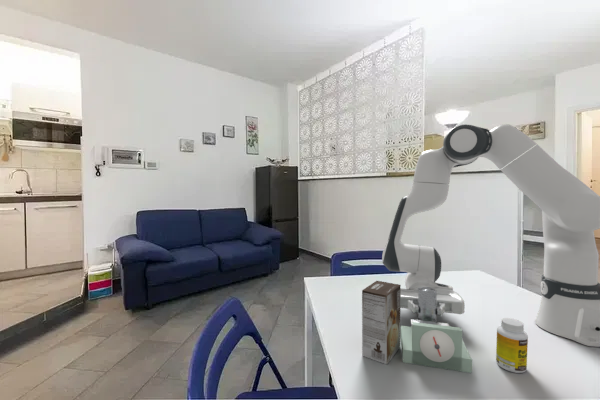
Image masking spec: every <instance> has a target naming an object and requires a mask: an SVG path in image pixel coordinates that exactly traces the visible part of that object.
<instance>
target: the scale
mask: <svg viewBox="0 0 600 400" xmlns="http://www.w3.org/2000/svg"><path fill="white" fill-rule="evenodd" d="M400 348H401V355H402V363H405V364H412V365H416V366H417V365H418V366H424V367H430V368H431V367H432V368H437V369H444V370H449V371H456V372H463V373H470V374H472V373H473V359H472V356H471V355H470V352H469V350H468V348H467V346H466V344H465V342H464V340H463V329H462V327H457V326H451V325H449V326H442V325H434V324H425V323H417V322H412V327H411V326H407V325H400Z"/></svg>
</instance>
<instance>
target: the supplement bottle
mask: <svg viewBox="0 0 600 400" xmlns="http://www.w3.org/2000/svg"><path fill="white" fill-rule="evenodd" d="M500 323H501V324H500V325H498V326H497V328H496V350H495V351H496V352H495V353H496V354H495V361H496V364H497V365H498V366H499V367H500V368H502V369H504V370H506V371H508V372H510V373H514V374H515V373H516V374H522V373H525V372H526V371H527V367H528V342H529V340H528V338H529V336H528V334H527V332H525V328H524V323H523V322H522V321H520V320H519V319H515V318H511V317H510V318H509V317H503V318H502V319H501V322H500Z"/></svg>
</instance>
